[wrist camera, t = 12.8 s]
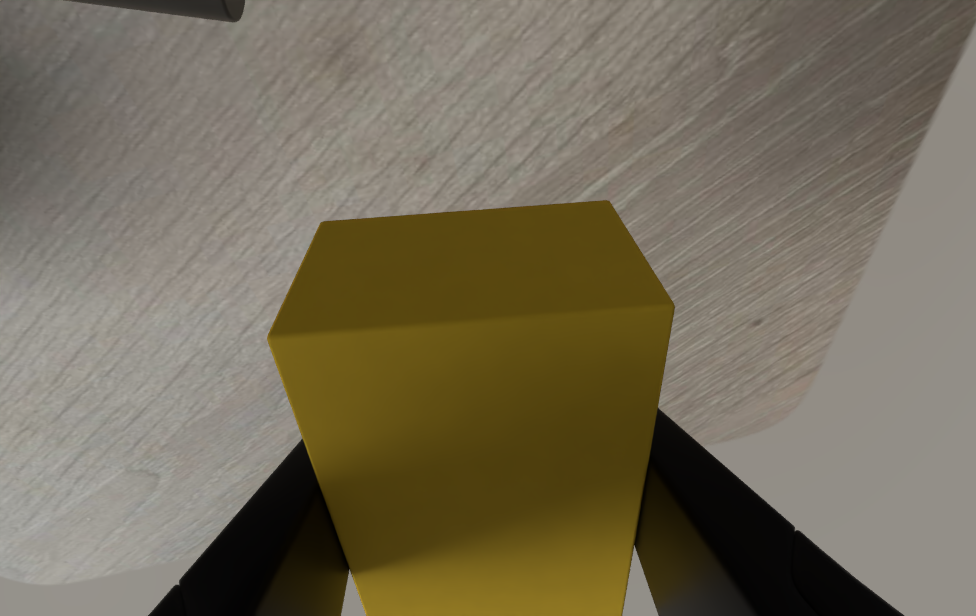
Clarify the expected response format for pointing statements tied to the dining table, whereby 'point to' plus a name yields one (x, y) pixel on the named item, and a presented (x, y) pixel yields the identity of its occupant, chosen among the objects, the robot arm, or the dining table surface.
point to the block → (479, 404)
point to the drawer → (181, 7)
